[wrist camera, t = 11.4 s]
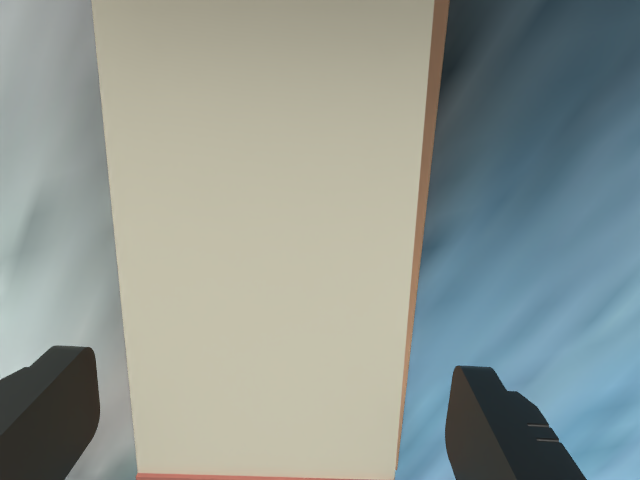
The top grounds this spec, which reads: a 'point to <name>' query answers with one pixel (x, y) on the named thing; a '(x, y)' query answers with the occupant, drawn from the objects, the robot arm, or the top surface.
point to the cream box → (264, 228)
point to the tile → (425, 173)
